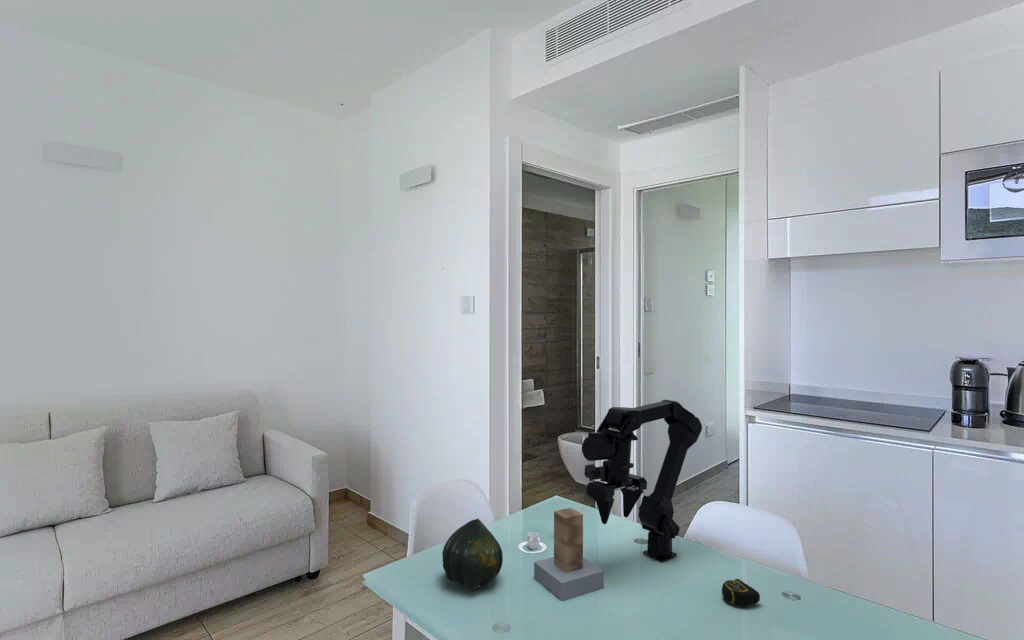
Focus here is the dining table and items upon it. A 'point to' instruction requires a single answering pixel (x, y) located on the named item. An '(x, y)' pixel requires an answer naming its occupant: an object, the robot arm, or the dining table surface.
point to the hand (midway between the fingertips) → (615, 520)
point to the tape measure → (739, 593)
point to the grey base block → (568, 578)
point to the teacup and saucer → (532, 543)
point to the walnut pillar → (568, 539)
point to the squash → (472, 556)
